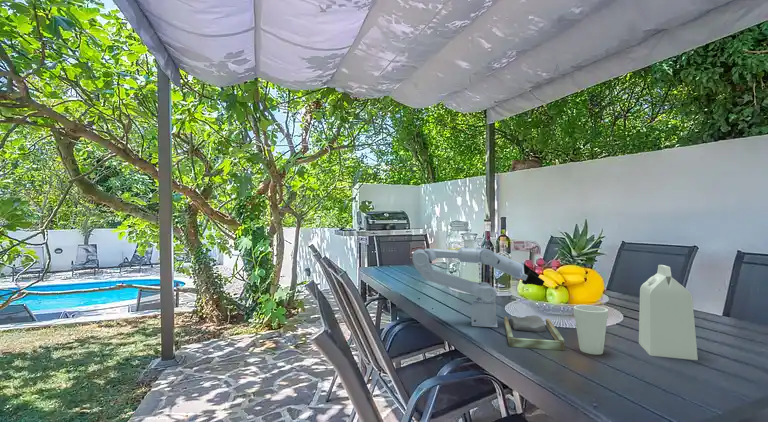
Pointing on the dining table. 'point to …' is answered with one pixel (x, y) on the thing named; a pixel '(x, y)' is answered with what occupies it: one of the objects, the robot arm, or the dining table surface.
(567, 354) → the dining table surface
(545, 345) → the channel
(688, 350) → the milk
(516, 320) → the stone block
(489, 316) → the robot arm
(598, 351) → the foam cup
